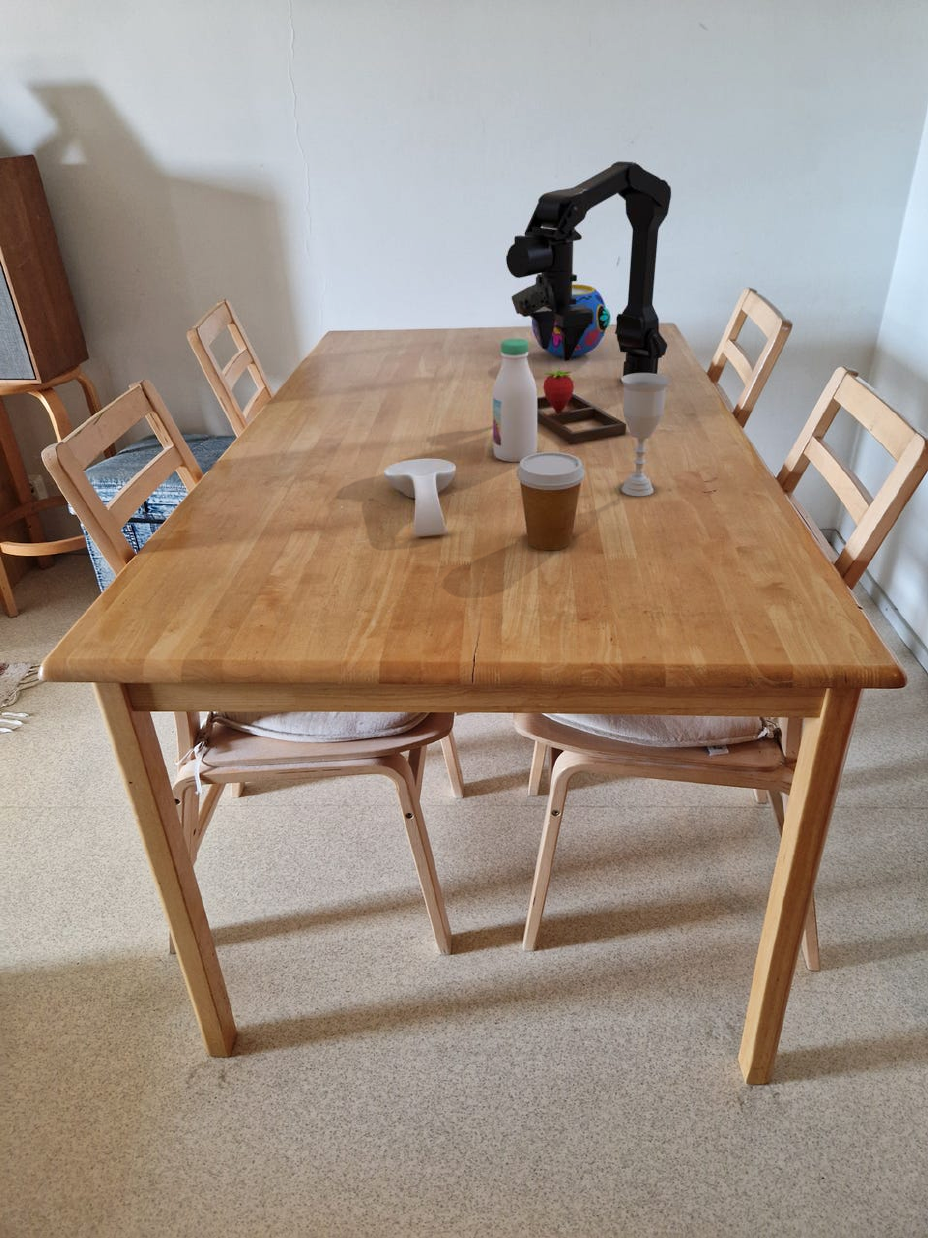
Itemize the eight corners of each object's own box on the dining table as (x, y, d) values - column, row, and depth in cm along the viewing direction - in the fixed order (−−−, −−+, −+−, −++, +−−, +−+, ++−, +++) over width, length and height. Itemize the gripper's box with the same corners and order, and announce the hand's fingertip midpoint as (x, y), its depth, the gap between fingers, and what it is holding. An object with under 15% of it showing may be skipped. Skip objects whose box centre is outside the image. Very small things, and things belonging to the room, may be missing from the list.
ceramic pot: (610, 363, 206) (614, 295, 198) (533, 366, 206) (533, 298, 198) (601, 343, 221) (604, 279, 213) (529, 346, 221) (530, 282, 213)
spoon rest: (383, 479, 152) (380, 439, 148) (452, 474, 153) (450, 433, 149) (392, 541, 132) (389, 496, 128) (471, 534, 133) (470, 489, 129)
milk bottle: (543, 450, 161) (544, 337, 150) (527, 465, 155) (527, 348, 145) (503, 445, 164) (502, 333, 153) (486, 459, 158) (484, 345, 147)
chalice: (663, 484, 146) (673, 374, 137) (657, 500, 141) (666, 387, 131) (618, 479, 148) (625, 371, 139) (610, 495, 143) (617, 384, 133)
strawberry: (545, 420, 174) (546, 369, 169) (540, 408, 181) (541, 358, 175) (575, 419, 174) (577, 367, 169) (569, 406, 181) (571, 357, 176)
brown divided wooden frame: (569, 401, 184) (570, 391, 183) (625, 434, 166) (626, 423, 165) (519, 409, 180) (519, 400, 179) (571, 444, 163) (571, 433, 162)
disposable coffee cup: (564, 561, 124) (566, 481, 118) (504, 546, 129) (503, 468, 123) (593, 534, 131) (596, 457, 125) (535, 521, 136) (536, 446, 129)
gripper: (496, 265, 169) (497, 348, 177) (539, 282, 154) (539, 372, 162) (549, 259, 172) (548, 341, 181) (596, 275, 157) (593, 364, 166)
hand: (555, 354), depth 172 cm, fingers open, 9 cm apart
